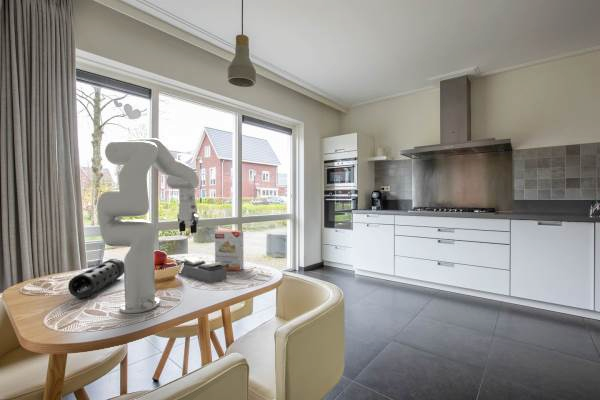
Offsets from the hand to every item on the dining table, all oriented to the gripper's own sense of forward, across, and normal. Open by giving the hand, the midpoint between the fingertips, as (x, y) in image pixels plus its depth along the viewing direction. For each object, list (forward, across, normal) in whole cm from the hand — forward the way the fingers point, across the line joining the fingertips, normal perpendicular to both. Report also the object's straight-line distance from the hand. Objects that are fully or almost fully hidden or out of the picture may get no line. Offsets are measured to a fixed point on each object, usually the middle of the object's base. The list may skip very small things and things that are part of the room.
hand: (187, 232), depth 145 cm
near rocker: (+15, -17, 0) cm, 23 cm away
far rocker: (+15, -3, 0) cm, 15 cm away
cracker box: (+21, -13, -16) cm, 30 cm away
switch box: (+21, -10, 0) cm, 23 cm away
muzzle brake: (+21, +11, +36) cm, 43 cm away
